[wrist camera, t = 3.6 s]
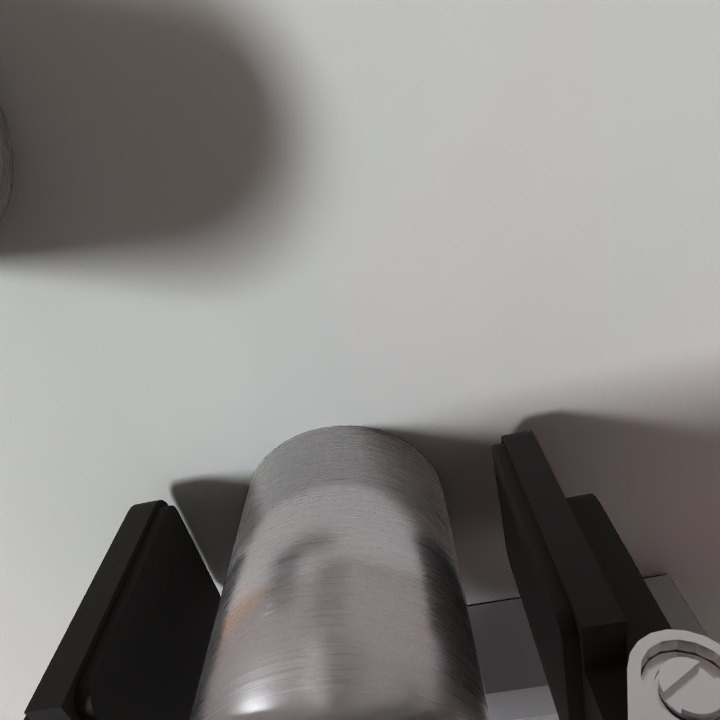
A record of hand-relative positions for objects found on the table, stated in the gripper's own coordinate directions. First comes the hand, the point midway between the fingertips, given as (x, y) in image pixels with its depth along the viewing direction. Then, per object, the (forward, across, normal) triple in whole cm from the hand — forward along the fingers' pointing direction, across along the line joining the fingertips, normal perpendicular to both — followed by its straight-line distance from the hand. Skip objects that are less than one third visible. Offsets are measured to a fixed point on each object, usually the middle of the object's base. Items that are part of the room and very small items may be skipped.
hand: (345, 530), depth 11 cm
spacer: (+1, 0, 0) cm, 1 cm away
